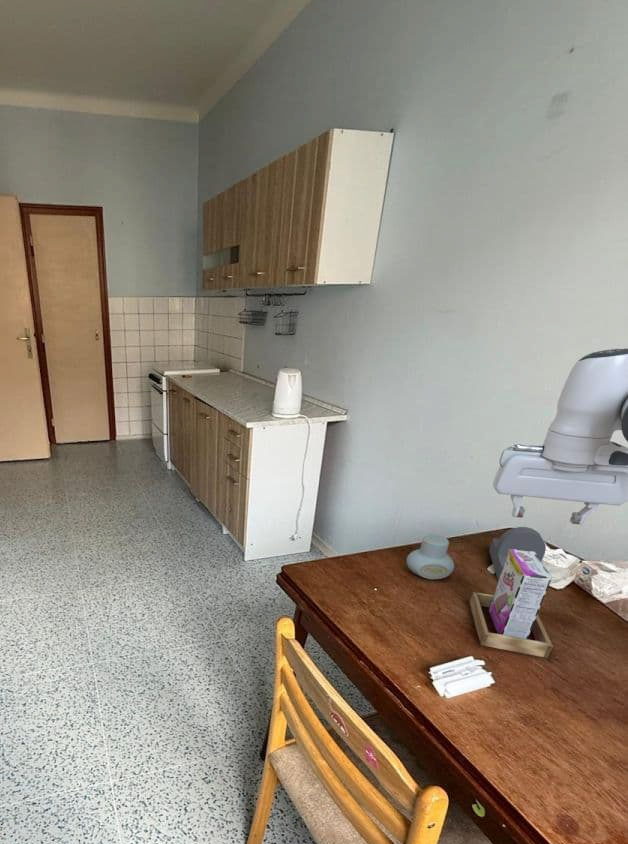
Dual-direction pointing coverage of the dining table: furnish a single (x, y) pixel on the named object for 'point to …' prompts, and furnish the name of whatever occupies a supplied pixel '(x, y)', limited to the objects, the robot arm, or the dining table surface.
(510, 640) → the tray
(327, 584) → the dining table surface
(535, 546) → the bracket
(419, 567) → the air freshener
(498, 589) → the candy bar box
